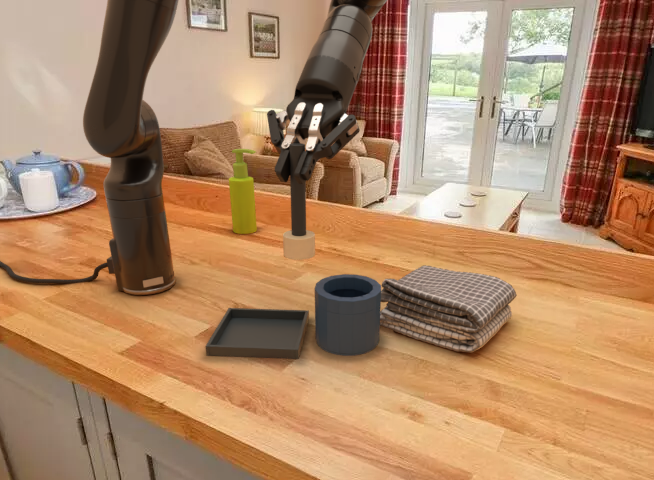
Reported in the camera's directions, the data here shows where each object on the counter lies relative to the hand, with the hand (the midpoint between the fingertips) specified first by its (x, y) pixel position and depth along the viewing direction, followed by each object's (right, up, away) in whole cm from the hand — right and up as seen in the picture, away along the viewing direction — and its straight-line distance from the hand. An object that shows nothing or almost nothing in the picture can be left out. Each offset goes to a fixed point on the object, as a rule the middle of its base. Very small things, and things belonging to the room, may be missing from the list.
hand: (290, 179), depth 62 cm
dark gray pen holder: (+7, -22, +11) cm, 26 cm away
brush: (+1, -9, +6) cm, 11 cm away
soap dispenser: (-18, -1, +61) cm, 64 cm away
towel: (+23, -20, +17) cm, 35 cm away
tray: (-6, -22, +12) cm, 25 cm away
